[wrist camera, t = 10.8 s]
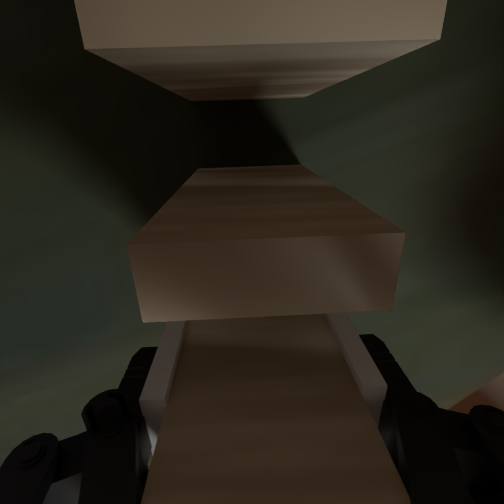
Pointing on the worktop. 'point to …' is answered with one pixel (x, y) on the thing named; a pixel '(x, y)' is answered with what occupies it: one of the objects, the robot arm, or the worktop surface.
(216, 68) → the domino
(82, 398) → the worktop surface
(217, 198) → the domino
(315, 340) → the domino
